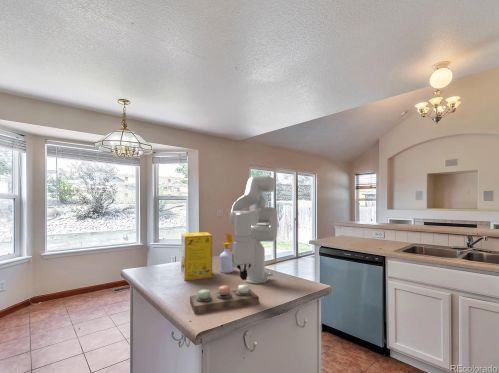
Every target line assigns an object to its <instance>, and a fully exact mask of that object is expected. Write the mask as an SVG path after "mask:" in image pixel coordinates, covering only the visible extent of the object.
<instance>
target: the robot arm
mask: <svg viewBox="0 0 499 373" xmlns="http://www.w3.org/2000/svg"><path fill="white" fill-rule="evenodd" d="M276 184H277V182H276V179H275V178H274V177H271V176H268V175H267V176H266V175H264V176H251V177H249V178H248V180H247V182H246V185H245V188H244V189H245V190H244V194H243V195H242V196H240V197H239V198H238V199H237V200H236V201H235V202H233V204H232V205H231V210H230V213H229V223H230V224H231V225H232V226H234V241H233V242H232V248H231V253H232V262H233V264H232V267H234V269H238V271H239V277H240V279H241V280H243V281H245V282H247V283H249V284H254V285H255V284H256V285H257V284H258V285H259V284H265V283H267V282H268V280H269V279H268V277H273V275H274V274H273V272H268V271H267V272H266V269H265V268H266V266H265V265H266V264H265V263H266V261H265V260H266V259H265V257H266V255H265V254H266V253H265V252H266V251H265V247H264V244H262V243H263V242H267V243H269V242H271V243H272V242H273V243H274V242H275V241H276V239H277V236H278V211H277V209H276V207H271V206H270V207H269V206H268V207H267V206H266V199H265V197H264V196H263V194H261V193H265V192H266V193H267V192H268V193H271V192H274V191H275V190H276V187H277V185H276ZM249 207H250V210H243V209H245V208H249Z"/></svg>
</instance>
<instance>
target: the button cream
mask: <svg viewBox="0 0 499 373" xmlns="http://www.w3.org/2000/svg"><path fill="white" fill-rule="evenodd" d="M249 289H250V286H249V285H248V284H239V285H238V286H237V290H238V292H239V293H248V292H249Z"/></svg>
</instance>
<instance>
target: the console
mask: <svg viewBox="0 0 499 373" xmlns="http://www.w3.org/2000/svg"><path fill="white" fill-rule="evenodd" d="M259 299H260V297H259V295H258V294H256V293H255V292H254V291H253V290H252V289H251V288H249V292H248V293H239V292H238V289H234V290H232V289H231V290H230V293H229V294H226V295H221V294H219V291H218V292H211V293H210V297H209V298H207V299H199V298H198V294H196V295H190V296H189V303H190V307H191V308H192V311H193V314H196V315H197V314H202V313H208V312H214V311H220V310H228V309H233V308H239V307H246V306H253V305H258V304H260V300H259Z"/></svg>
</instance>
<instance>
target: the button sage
mask: <svg viewBox="0 0 499 373" xmlns="http://www.w3.org/2000/svg"><path fill="white" fill-rule="evenodd" d="M197 293H198V294H197V295H198V298H199V299H207V298H209V297H210V290H209V289H204V288H203V289H201V290H198V292H197Z"/></svg>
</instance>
